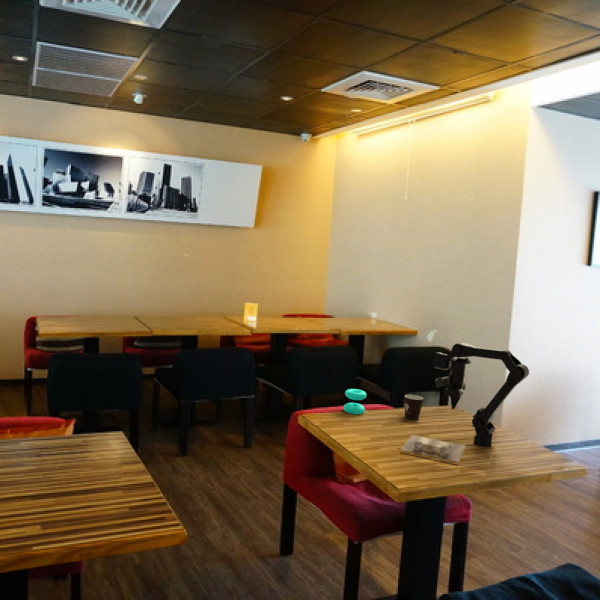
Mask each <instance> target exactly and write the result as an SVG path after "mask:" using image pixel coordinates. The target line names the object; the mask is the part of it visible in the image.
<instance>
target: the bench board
mask: <svg viewBox="0 0 600 600" xmlns="http://www.w3.org/2000/svg"><path fill="white" fill-rule="evenodd" d="M421 437H423V438H426V437H425V436H420V435H417V434H416V435H415V434H411V435H410V437H409V438H408V439H407V441H406V442H405V443H404V444H403V446H402V447H401V448H400V451H405V452H399V454H400V455H401V454H402V455H406V456H411V457H415V458H419V459H425V460H428V461H432V462H433V461H434V462H438V463H443V464H447V465H451V466H456V467H459V464H456V463H459V462H460V460H461V458H462V456H463V454H464V452H465V449H466V448H467V445H464V444H460V443H459V444H458V443H455V442H449V441H446V440H445V441H444V440H440V439H435V438H432V439H433V440H437V441H442V442H447V443H451V450H450V451H449V448H448V447H446V446H441V449H440V454H438V453H434V452H429V451H424V450H422V442H421V441H418V440H419V439H420V438H421ZM427 438H428V439H431V438H430V437H427ZM448 451H449V453H448ZM407 452H409V453H413V454H409V453H407ZM416 454H418V455H416ZM419 455H424V456H427V457H428V456H429V457H432V458H437V459H442V460H446V461H451V462H455V464H454V463H451V462H446V461H442V460H437V459H432V458H427V457H424V456H419Z"/></svg>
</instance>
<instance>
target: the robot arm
mask: <svg viewBox="0 0 600 600" xmlns="http://www.w3.org/2000/svg"><path fill="white" fill-rule="evenodd" d="M469 357H471V358H472V357H476V358H483V359H484V358H485V359H492V360H499V361H502V363H503V365H504V366H505V368H506V369H507V370H508V375H507V376H506V379H505V382H504V383H503V385H502V386H501V387H500V389H499V390H498V391H497V392H496V394H495V395H494V396H493V397H492V399H491V400H490V401H489V403H488V404H487V405H486V406H485V408H484V407H483V406H482V407H480V408H479V409H477V410H476V411H475V414H474V415H472V420H471V424H472V426H473V428H474V431H475V434H474V439H473V444H475V445H477V446H479V447H483V448H487V447H488V448H492V443H493V438H494V437H493V435H494V432H495V430H496V427H495V426H494V424H493V422H492V421H493V419H494V416H495V413H496V412H497V410H498V409H500V406H501V405H502V404H503V403H504V401H505V400H506V399H507V397H508V396H509V395H510V394H511V392H512V391H513V390H514V389H515V388H516V387H517V386H518V385H519V384H521V382H523V381H524V380H525V379H526V378H527V377H529V375H530V369H529V368H528V366H527V365H525V364H523V363H522V362H521V361H520V360H519V359H518V358H517V357H516V356H515V355H514V354H513V353H512V352H511V351H510V350H508V349H496V348H487V347H478V346H475V345H472V344H471V343H466V342H458V343H455V344H453V345H452V346H451V350H450V351H449V352H448V353H447V354H446V353H442V352H439V351H438V352H435V355H434V358H433V360H432V368H435V369H438V370H443V371H448V370H449V369H450V373H449V374H448V376H443V377H442V376H441V377H437V378H436V379H435V386H436V388H441V387H444V386H446V387H447V388H446V389H444V395H445V396H447V397H449V398H450V406H451V409H452V410H455V409H456V407H457V405H458V403H459V401H460V399H461V398H462V396H463V394H464V392H463V391H465V390H466V389H467V388H466V387H467V385H466V383H465V382H464V380H465V378H466V377H465V376H466V375H465V374H466V365H470V364H472V361H471V360H470V359H469ZM455 358H456V359H455ZM462 390H463V391H462Z"/></svg>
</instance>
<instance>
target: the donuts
mask: <svg viewBox="0 0 600 600" xmlns="http://www.w3.org/2000/svg"><path fill="white" fill-rule="evenodd" d="M344 395H345V396H346V398H348V399H349V400H353V401H362V400H364V399H366V398H367V393H366V391H364V390H362V389H358V388H357V389H356V388H348V389H347V390H345V392H344ZM343 411H344V412H346V413H348V414H352V415H362V414H364V413H365V412H366V408H365V407H364V405H362V404H361V403H357V402H348V403H345V404H344V405H343Z"/></svg>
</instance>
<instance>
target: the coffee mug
mask: <svg viewBox="0 0 600 600" xmlns="http://www.w3.org/2000/svg"><path fill="white" fill-rule="evenodd" d="M402 400H403V405H404V418H405V419H407V420H410V421H418V420H419V419H420V414H421V410H422V406H423V401H424V397H422V396H420V395H418V394H417V395H416V394H405V395H404V397H403V399H402Z"/></svg>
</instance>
